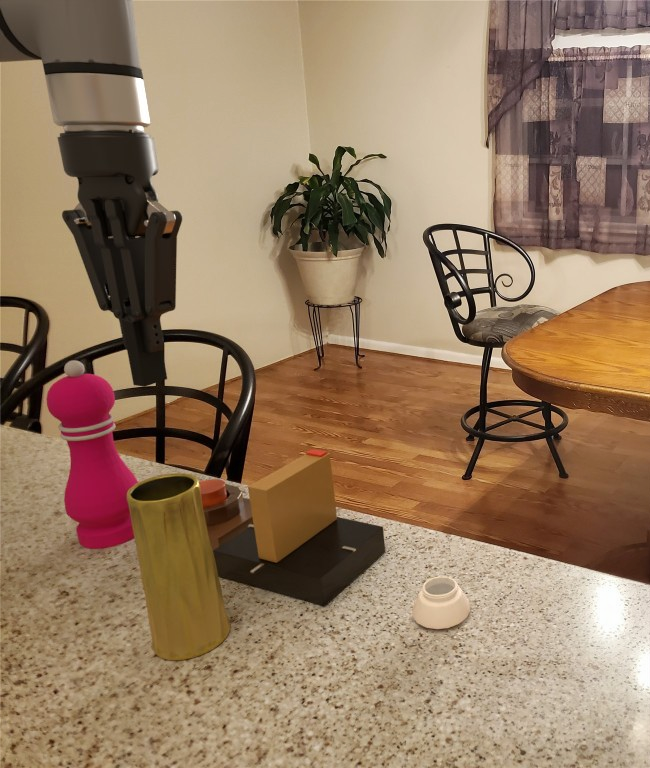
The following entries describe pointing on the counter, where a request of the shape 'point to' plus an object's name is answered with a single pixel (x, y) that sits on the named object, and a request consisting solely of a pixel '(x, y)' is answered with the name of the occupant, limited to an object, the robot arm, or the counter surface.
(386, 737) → the counter surface
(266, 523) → the yellow block
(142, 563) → the vase
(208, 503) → the button
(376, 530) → the black square base
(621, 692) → the counter surface
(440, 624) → the white jar
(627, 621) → the counter surface
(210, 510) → the drain block
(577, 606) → the counter surface
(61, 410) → the pepper mill
